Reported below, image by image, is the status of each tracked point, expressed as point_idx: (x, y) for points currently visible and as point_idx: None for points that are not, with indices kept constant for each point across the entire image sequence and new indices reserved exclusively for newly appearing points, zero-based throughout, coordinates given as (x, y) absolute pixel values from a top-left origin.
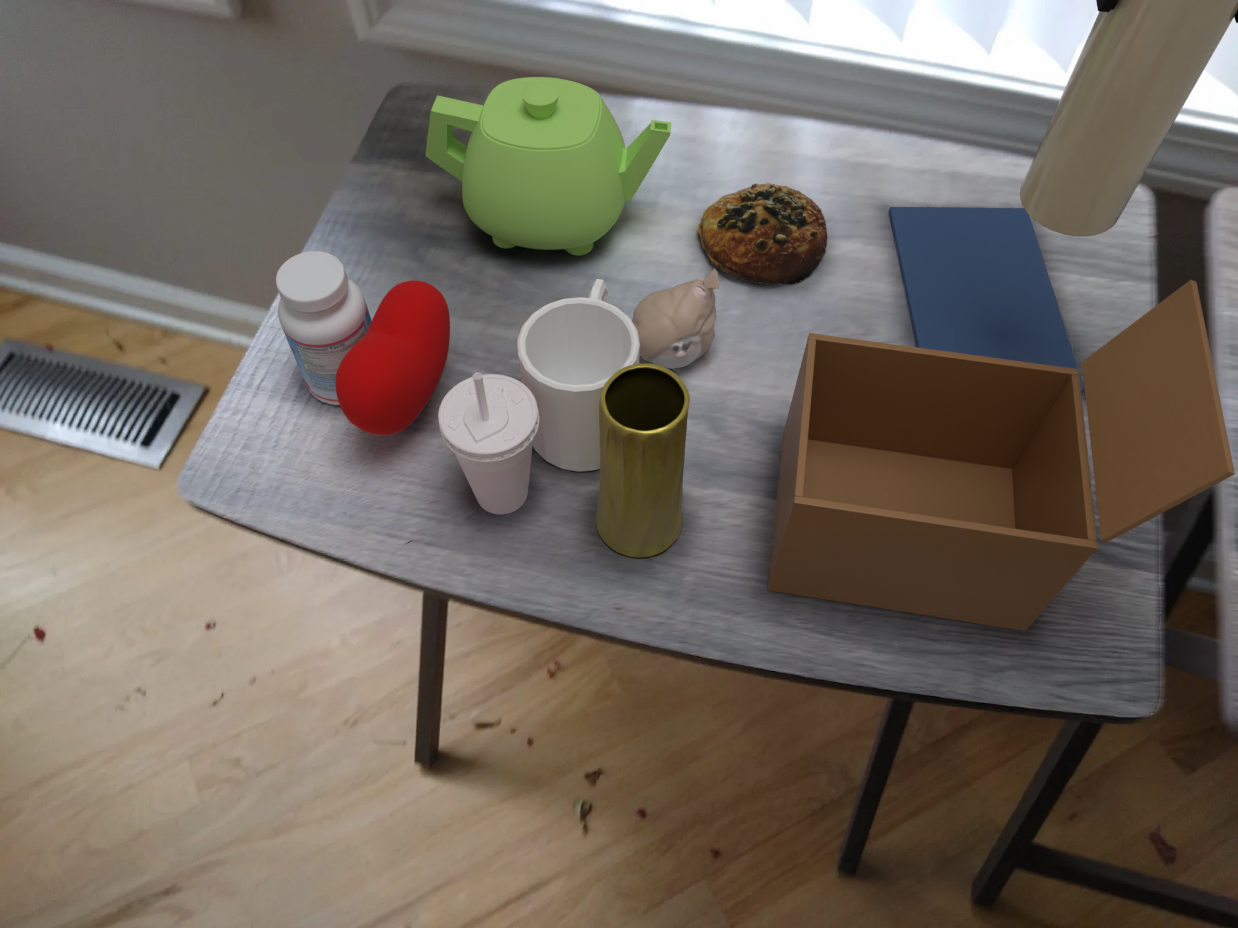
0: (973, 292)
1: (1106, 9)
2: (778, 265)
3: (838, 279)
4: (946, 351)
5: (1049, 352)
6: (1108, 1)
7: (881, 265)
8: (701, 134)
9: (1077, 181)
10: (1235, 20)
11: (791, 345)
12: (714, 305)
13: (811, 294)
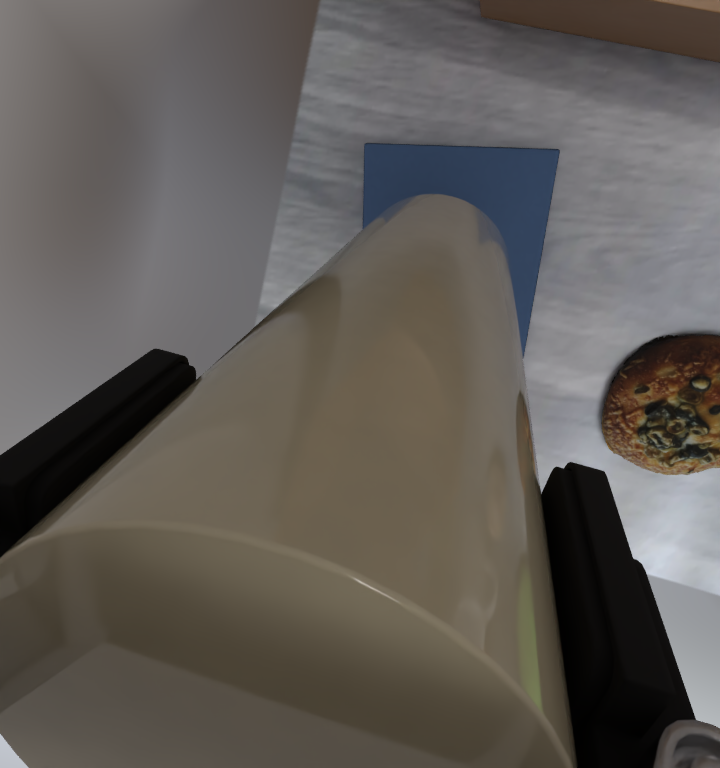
0: None
1: (587, 468)
2: (707, 348)
3: (605, 338)
4: (697, 9)
5: (390, 205)
6: (599, 486)
7: (544, 354)
8: (692, 559)
9: (478, 230)
10: (195, 380)
11: (711, 237)
12: None
13: (650, 318)
